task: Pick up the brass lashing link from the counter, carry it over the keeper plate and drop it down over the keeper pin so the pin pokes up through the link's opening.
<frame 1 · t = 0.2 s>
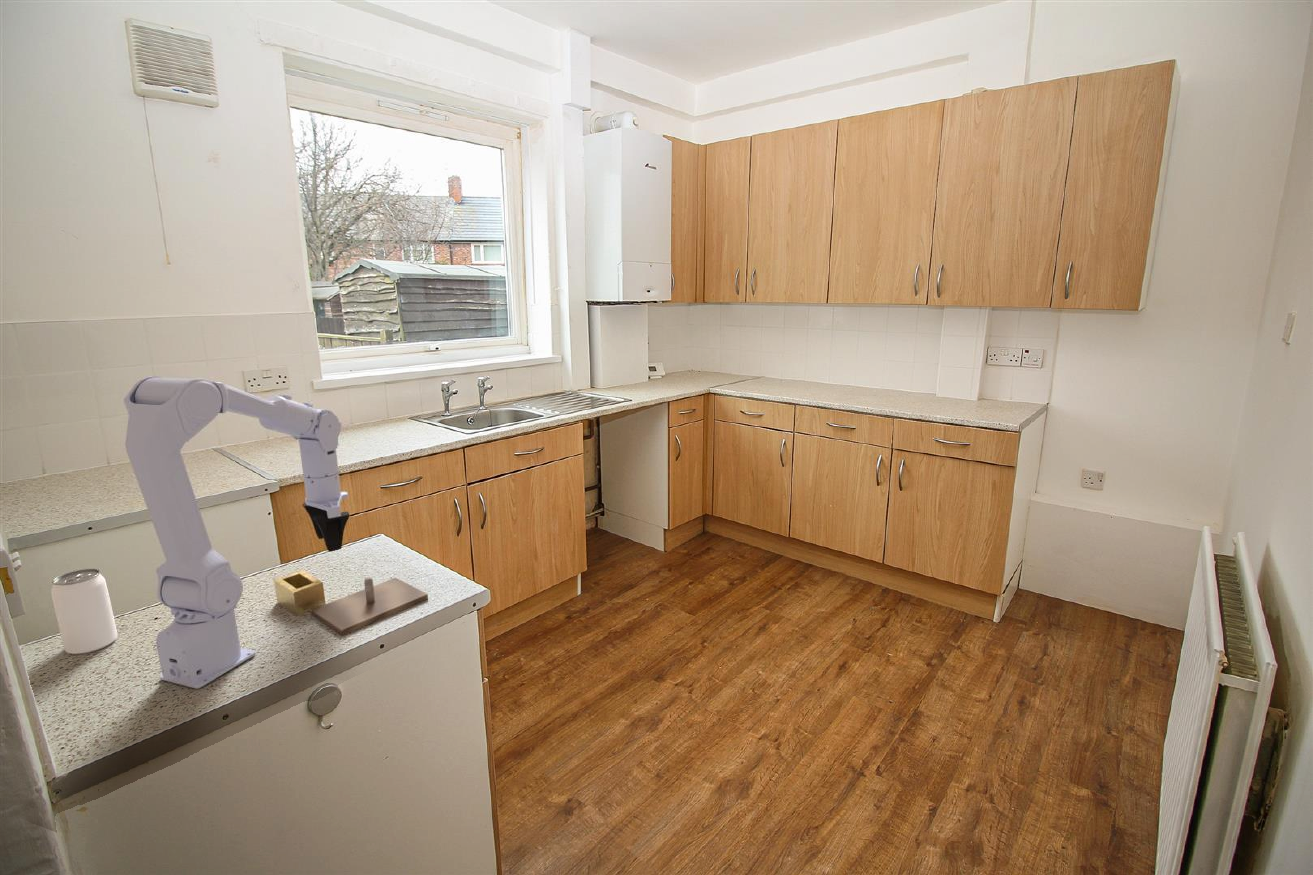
hand: (329, 543, 117), 10 cm above the counter, tool pointing down, fingers open, 7 cm apart
keeper: (371, 606, 114), on the counter
can: (92, 645, 102), on the counter
link: (301, 603, 115), on the counter
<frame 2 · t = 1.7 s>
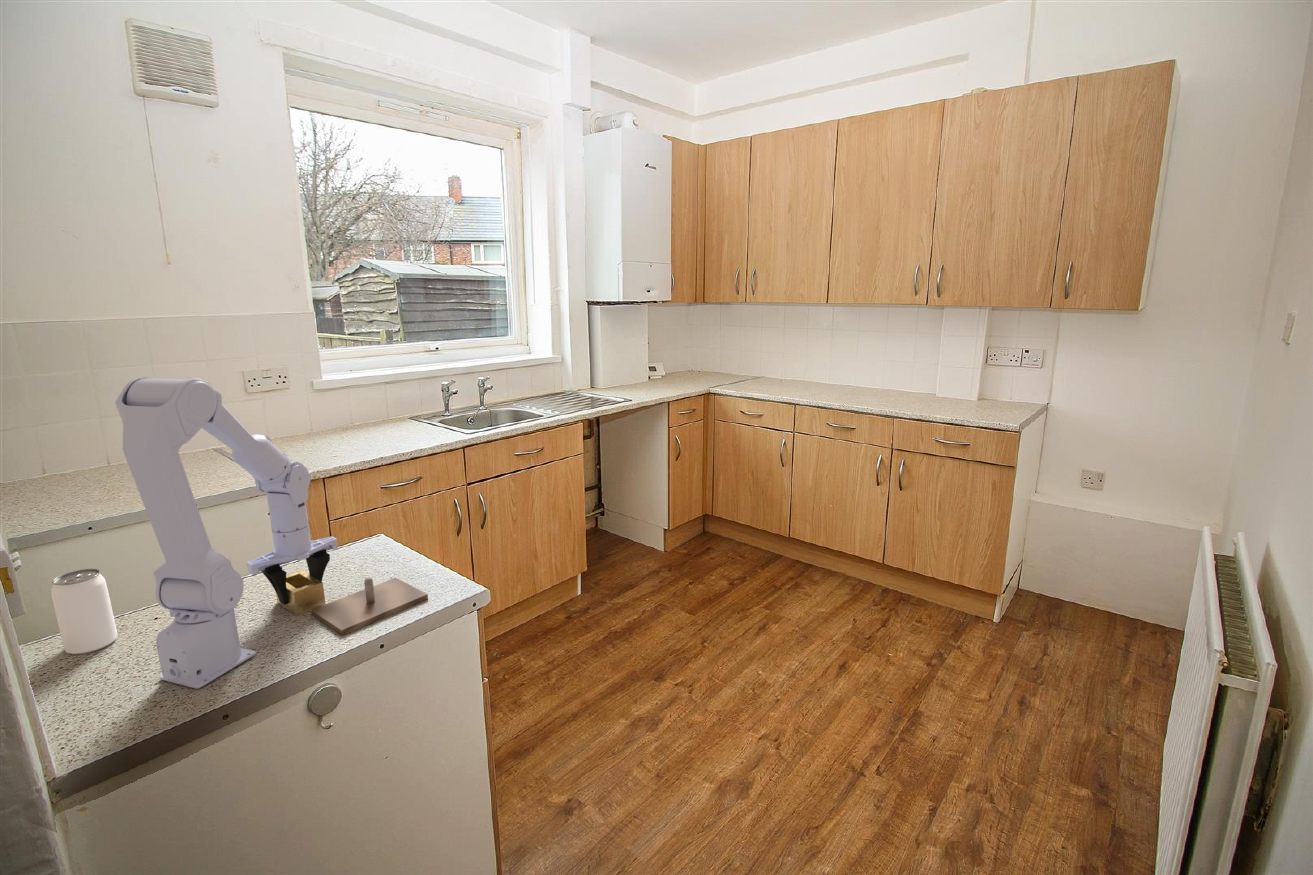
hand: (300, 596, 114), 1 cm above the counter, tool pointing down, fingers closed on link, 5 cm apart
link: (301, 603, 115), on the counter, touching gripper
everything else where it was.
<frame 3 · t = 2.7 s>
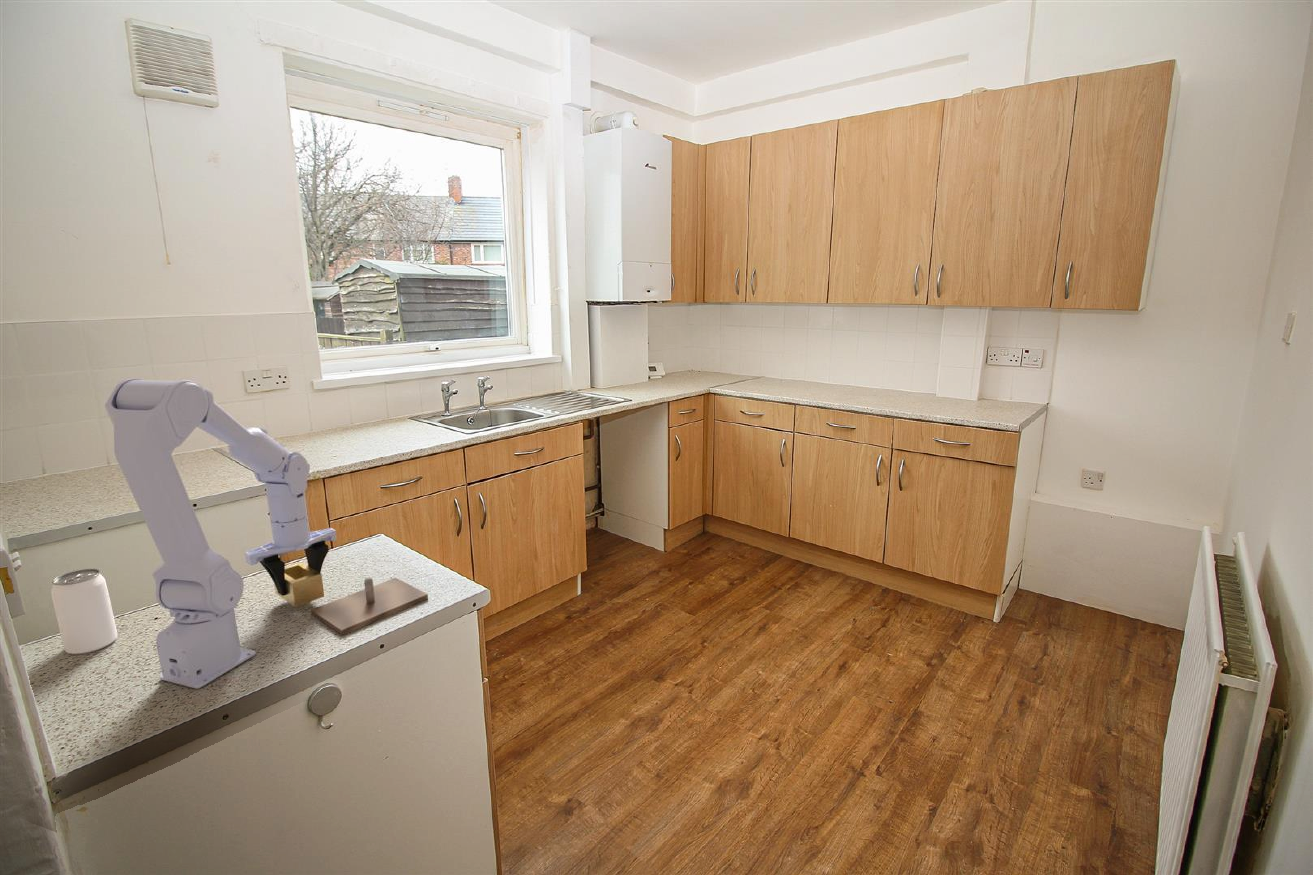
hand: (298, 587, 114), 3 cm above the counter, tool pointing down, fingers closed on link, 5 cm apart
link: (299, 595, 114), point 2 cm above the counter, touching gripper
everything else where it was.
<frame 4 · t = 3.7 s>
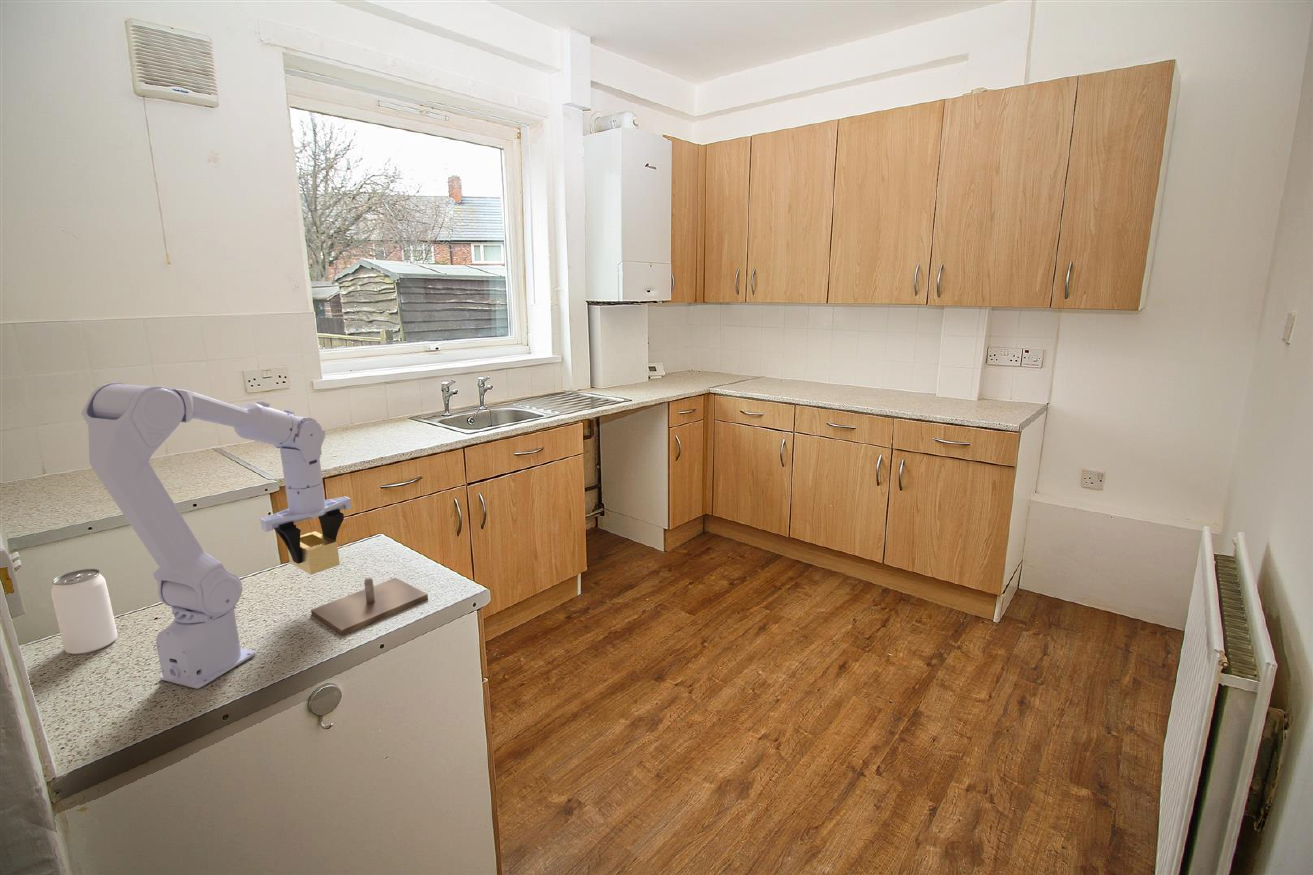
hand: (313, 556, 112), 9 cm above the counter, tool pointing down, fingers closed on link, 5 cm apart
link: (314, 563, 113), point 8 cm above the counter, touching gripper
everything else where it was.
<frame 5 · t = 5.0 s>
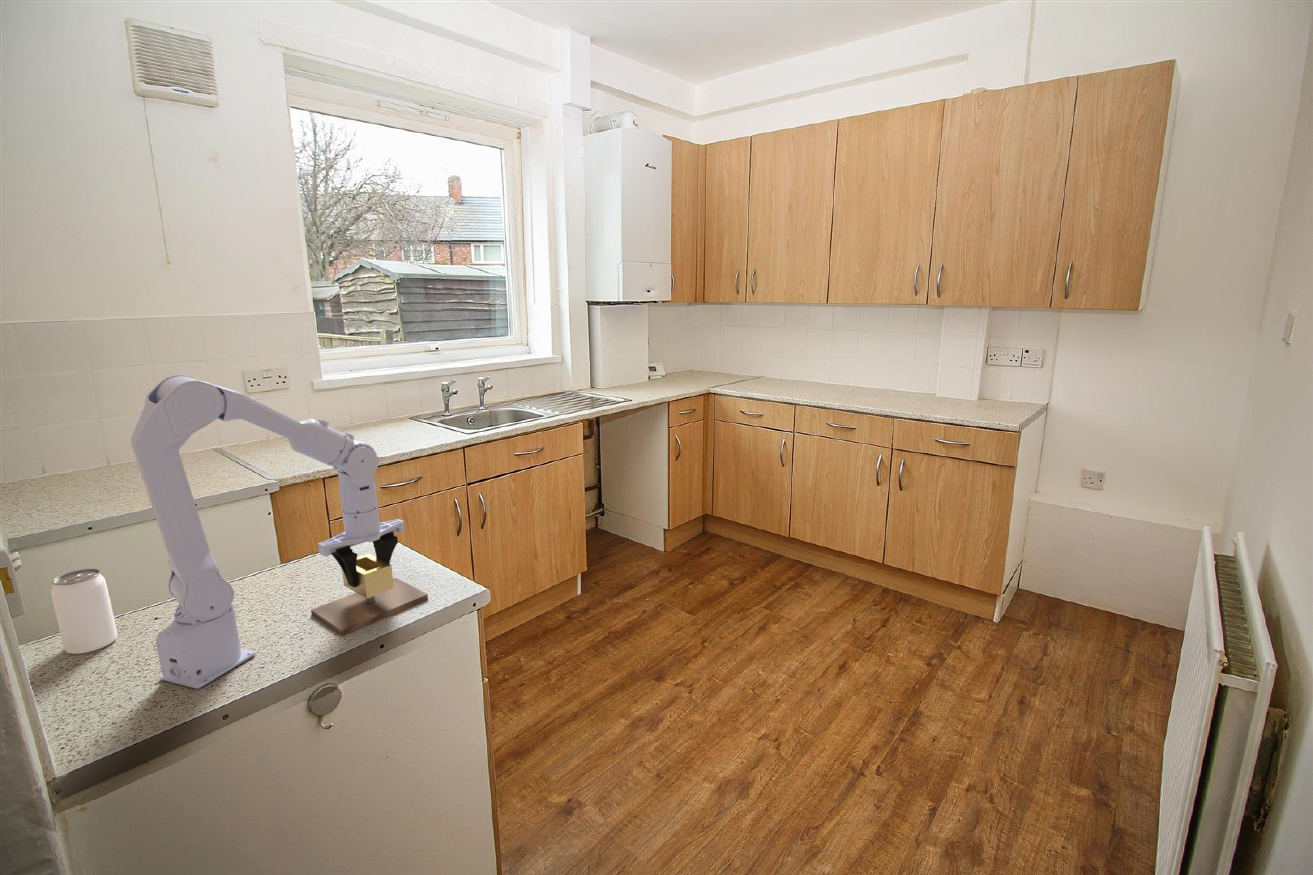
hand: (368, 579, 112), 5 cm above the counter, tool pointing down, fingers closed on link, 5 cm apart
link: (368, 586, 113), point 4 cm above the counter, touching gripper
everything else where it was.
when the fingers open (4 cm above the counter, at t = 5.7 s): link drops 2 cm, resting on keeper.
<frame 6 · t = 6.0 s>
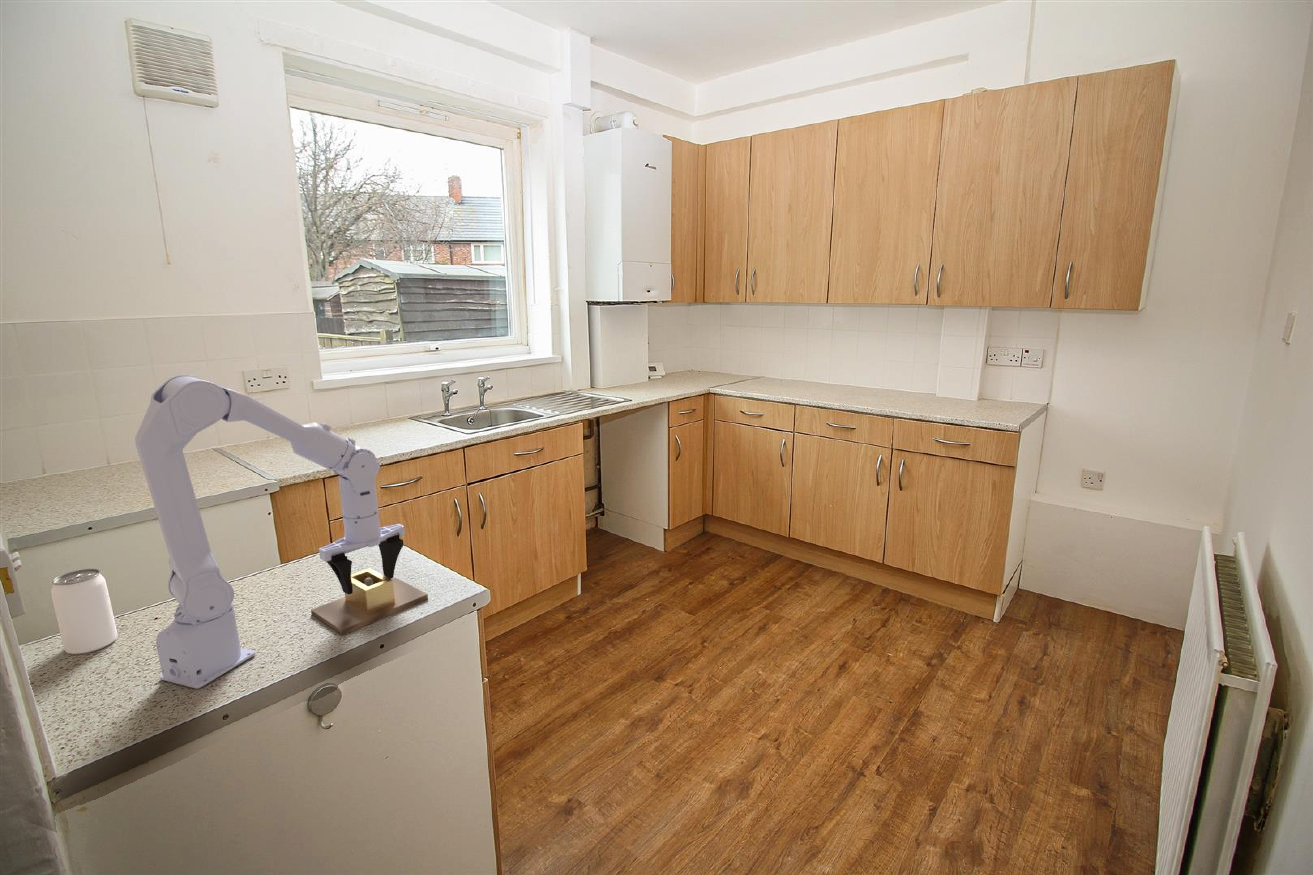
hand: (368, 584, 113), 4 cm above the counter, tool pointing down, fingers open, 7 cm apart
link: (370, 601, 114), point 1 cm above the counter, touching keeper
everything else where it was.
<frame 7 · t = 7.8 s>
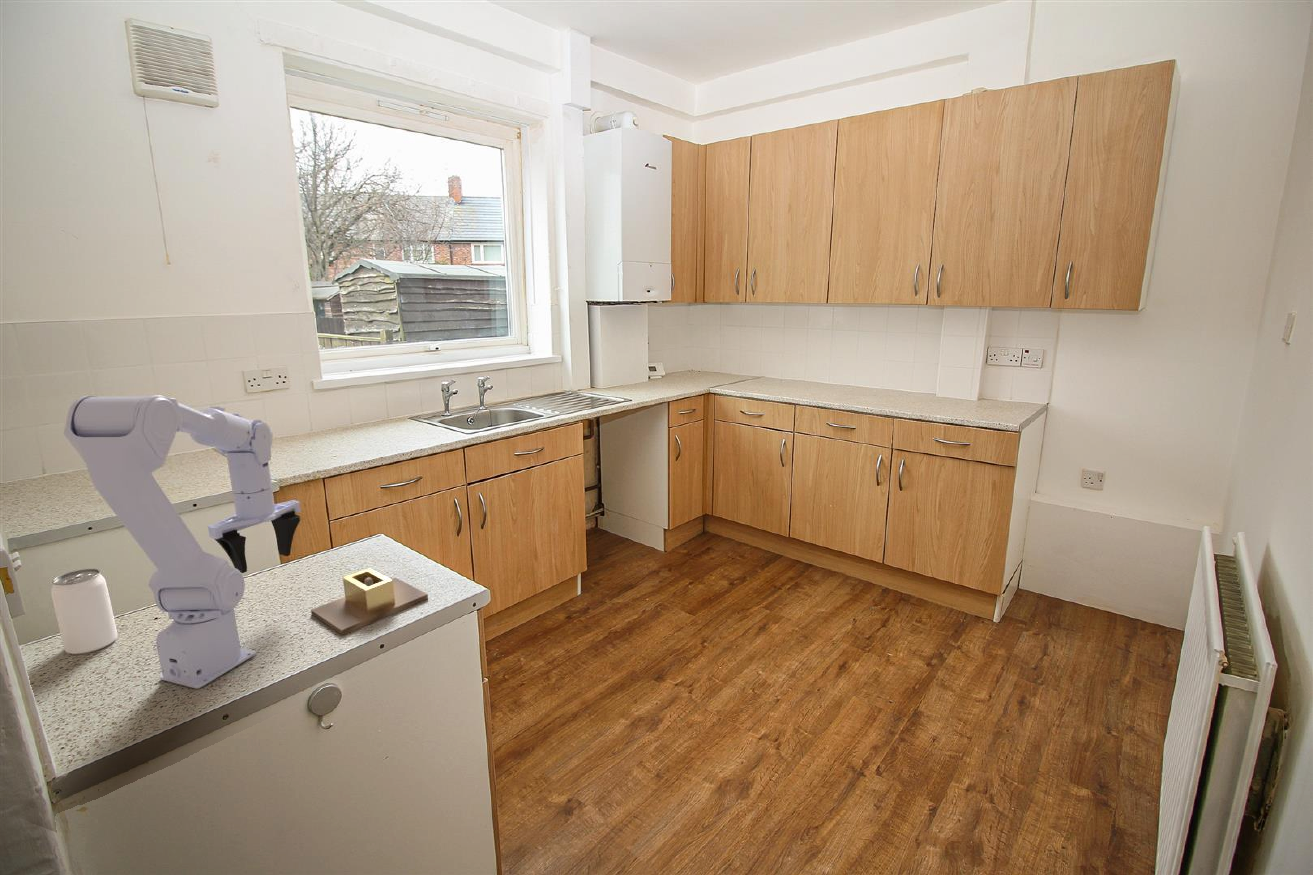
hand: (263, 562, 110), 9 cm above the counter, tool pointing down, fingers open, 7 cm apart
nothing on the counter moved.
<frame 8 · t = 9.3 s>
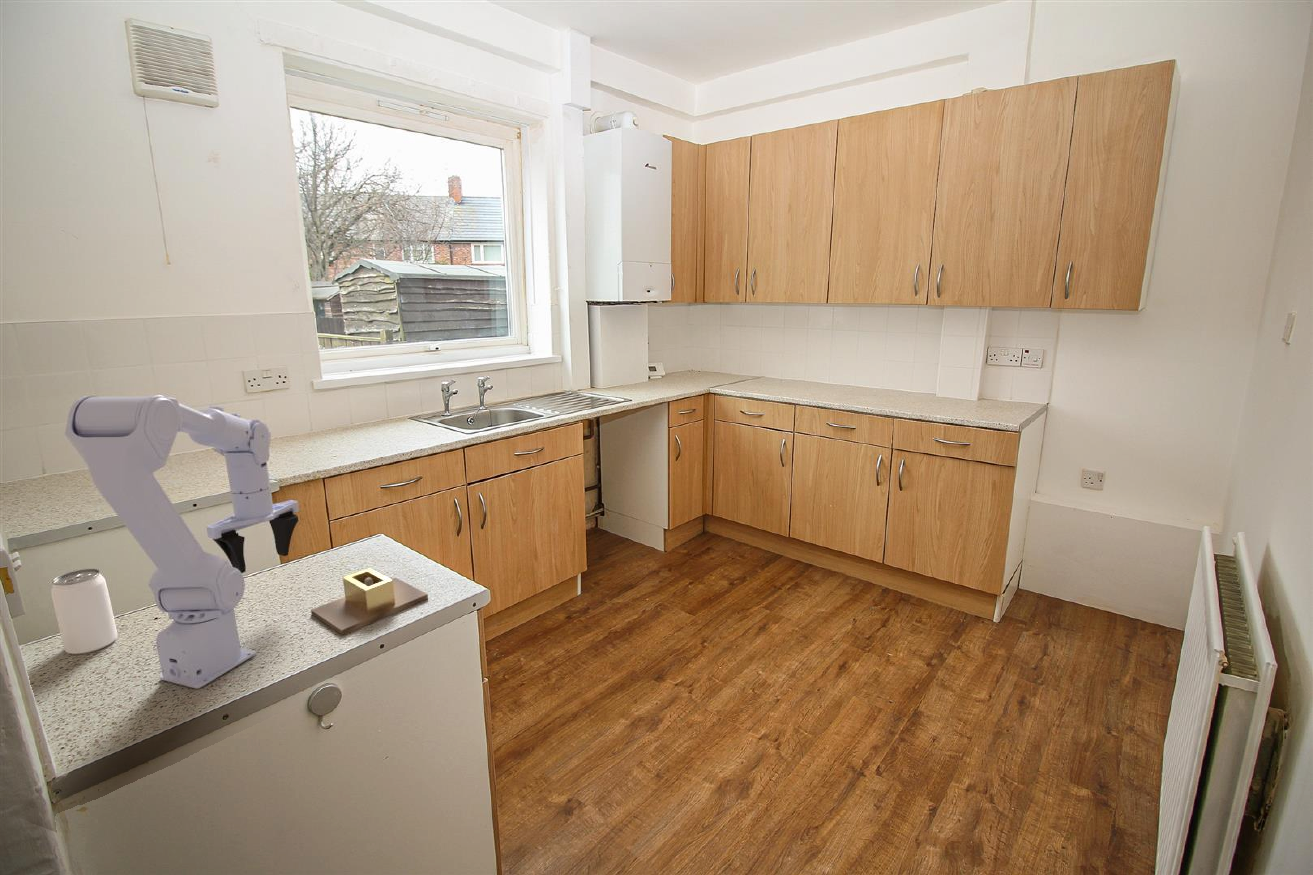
hand: (262, 562, 110), 9 cm above the counter, tool pointing down, fingers open, 7 cm apart
nothing on the counter moved.
at the end: link 0.1 cm off-centre on the keeper, point 1.0 cm above the keeper's base; link tilted 0°; the gripper is holding nothing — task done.
